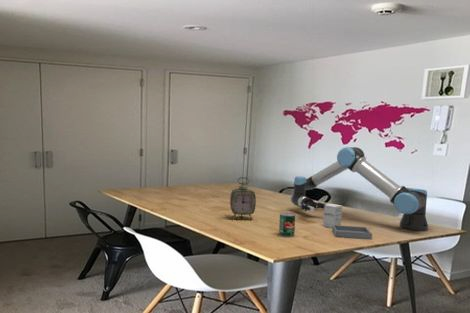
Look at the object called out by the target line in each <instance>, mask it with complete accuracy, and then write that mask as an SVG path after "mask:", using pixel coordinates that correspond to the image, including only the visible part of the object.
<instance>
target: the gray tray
mask: <svg viewBox="0 0 470 313" xmlns="http://www.w3.org/2000/svg"><path fill="white" fill-rule="evenodd" d="M331 232H332V233H333V235H334V237H335V238H342V237H344V238H346V239H357V240H359V239H360V240H373V233H372V232H371V231H370V229H368V228H367V226H366V227H365V226H353V225H352V226H351V225H341V226H338V225H332V228H331Z"/></svg>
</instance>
